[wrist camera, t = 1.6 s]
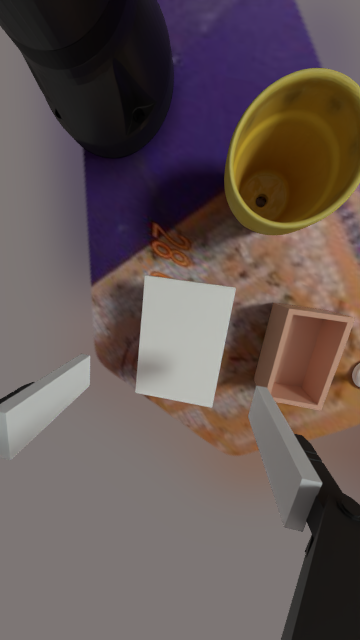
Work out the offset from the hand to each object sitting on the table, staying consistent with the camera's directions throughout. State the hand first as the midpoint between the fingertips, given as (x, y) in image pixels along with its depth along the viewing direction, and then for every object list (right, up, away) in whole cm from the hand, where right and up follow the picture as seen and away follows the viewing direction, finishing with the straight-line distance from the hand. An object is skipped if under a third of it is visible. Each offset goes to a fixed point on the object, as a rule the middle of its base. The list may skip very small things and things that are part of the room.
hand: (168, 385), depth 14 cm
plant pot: (+11, +20, +9) cm, 24 cm away
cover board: (+1, +2, +9) cm, 9 cm away
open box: (+17, +1, +13) cm, 21 cm away
